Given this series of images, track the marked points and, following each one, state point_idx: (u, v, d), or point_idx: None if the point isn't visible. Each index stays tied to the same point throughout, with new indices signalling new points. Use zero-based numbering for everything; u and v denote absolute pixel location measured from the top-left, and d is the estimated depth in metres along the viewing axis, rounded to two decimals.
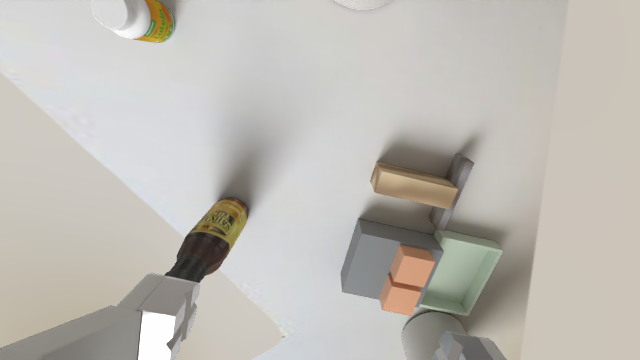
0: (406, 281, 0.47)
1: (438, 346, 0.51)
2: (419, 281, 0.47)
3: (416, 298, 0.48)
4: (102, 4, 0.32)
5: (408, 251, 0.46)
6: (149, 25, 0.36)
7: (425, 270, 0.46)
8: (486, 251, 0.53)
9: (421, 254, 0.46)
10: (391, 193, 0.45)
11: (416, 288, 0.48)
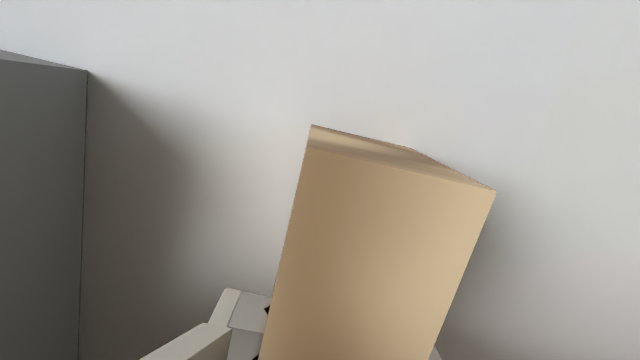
0: None
1: None
2: None
3: None
4: None
5: None
6: None
7: None
8: None
9: None
10: (300, 274, 0.06)
11: None
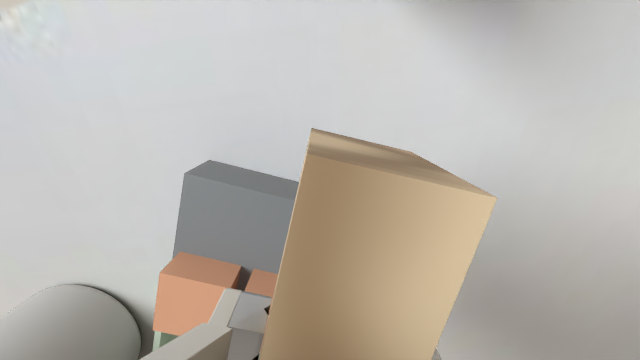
0: None
1: None
2: None
3: None
4: None
5: None
6: None
7: None
8: None
9: None
10: (300, 280, 0.06)
11: None
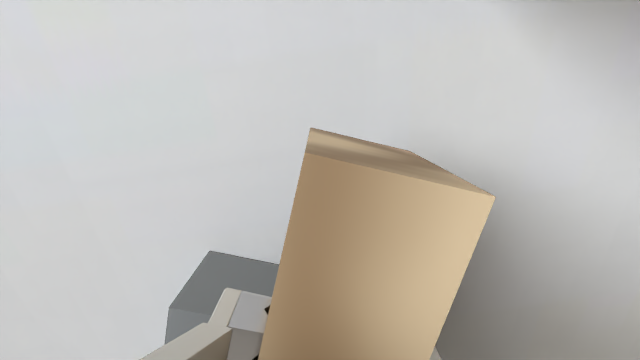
0: None
1: None
2: None
3: None
4: None
5: None
6: None
7: None
8: None
9: None
10: (299, 279, 0.06)
11: None
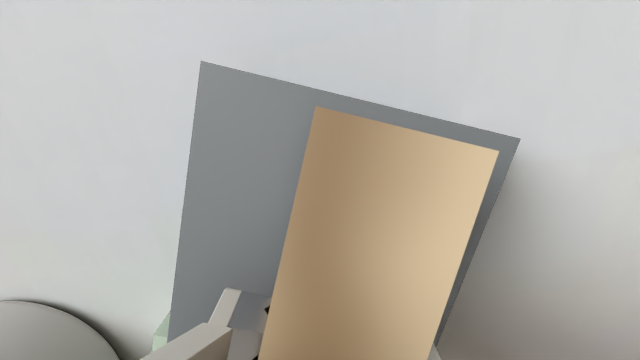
0: None
1: None
2: None
3: None
4: None
5: None
6: None
7: None
8: None
9: None
10: (308, 237, 0.06)
11: None
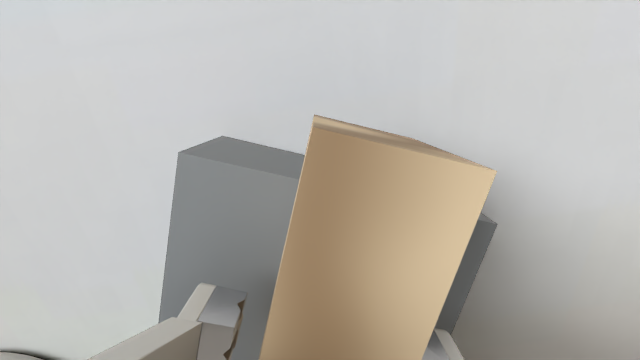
0: None
1: None
2: None
3: None
4: None
5: None
6: None
7: None
8: None
9: None
10: (306, 253, 0.06)
11: None
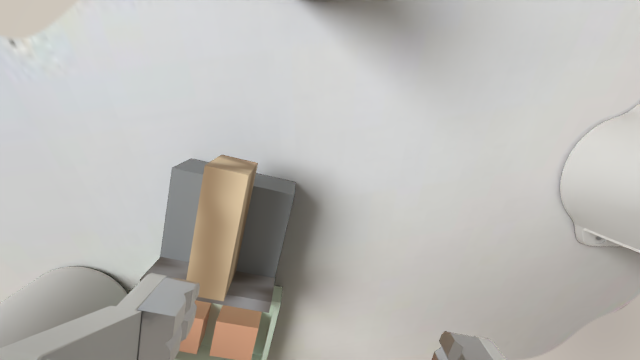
0: None
1: None
2: None
3: None
4: None
5: None
6: None
7: None
8: None
9: None
10: (205, 195, 0.24)
11: (208, 310, 0.37)
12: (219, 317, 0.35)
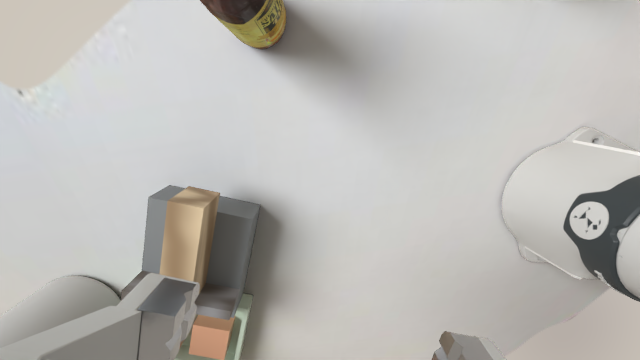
0: None
1: None
2: None
3: None
4: None
5: (228, 345, 0.43)
6: None
7: None
8: (227, 351, 0.45)
9: (231, 332, 0.42)
10: (169, 224, 0.29)
11: None
12: (196, 321, 0.41)
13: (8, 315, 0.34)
